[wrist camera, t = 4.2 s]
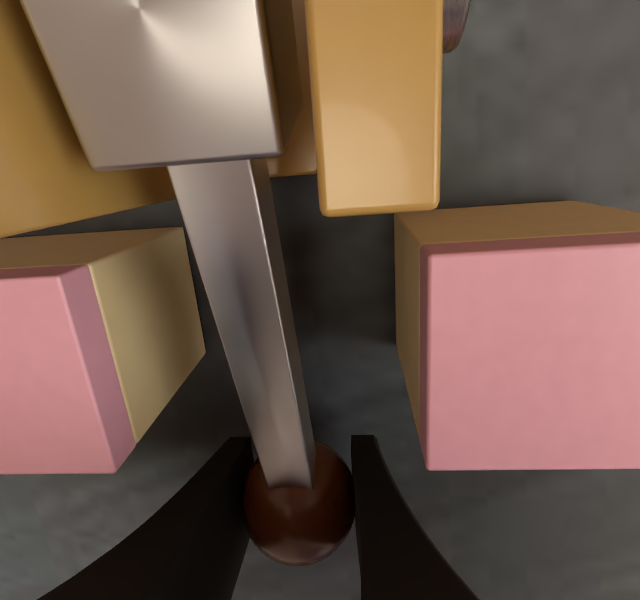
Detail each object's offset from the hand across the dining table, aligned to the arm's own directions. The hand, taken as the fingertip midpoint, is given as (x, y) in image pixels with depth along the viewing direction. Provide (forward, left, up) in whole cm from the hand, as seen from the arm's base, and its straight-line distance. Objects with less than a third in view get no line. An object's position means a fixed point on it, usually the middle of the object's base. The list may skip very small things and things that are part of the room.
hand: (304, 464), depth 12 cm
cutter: (+5, 0, +1) cm, 6 cm away
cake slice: (+5, -5, -1) cm, 7 cm away
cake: (+5, +6, -1) cm, 8 cm away
